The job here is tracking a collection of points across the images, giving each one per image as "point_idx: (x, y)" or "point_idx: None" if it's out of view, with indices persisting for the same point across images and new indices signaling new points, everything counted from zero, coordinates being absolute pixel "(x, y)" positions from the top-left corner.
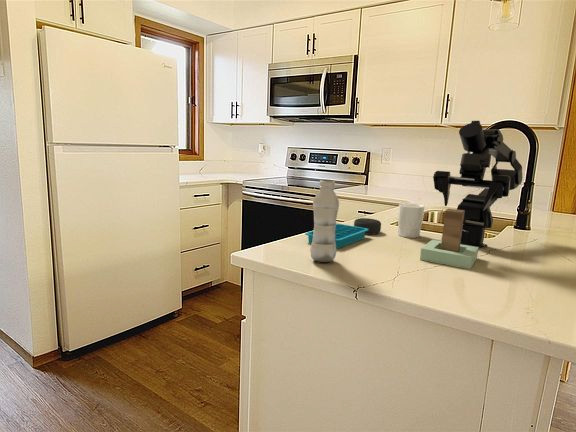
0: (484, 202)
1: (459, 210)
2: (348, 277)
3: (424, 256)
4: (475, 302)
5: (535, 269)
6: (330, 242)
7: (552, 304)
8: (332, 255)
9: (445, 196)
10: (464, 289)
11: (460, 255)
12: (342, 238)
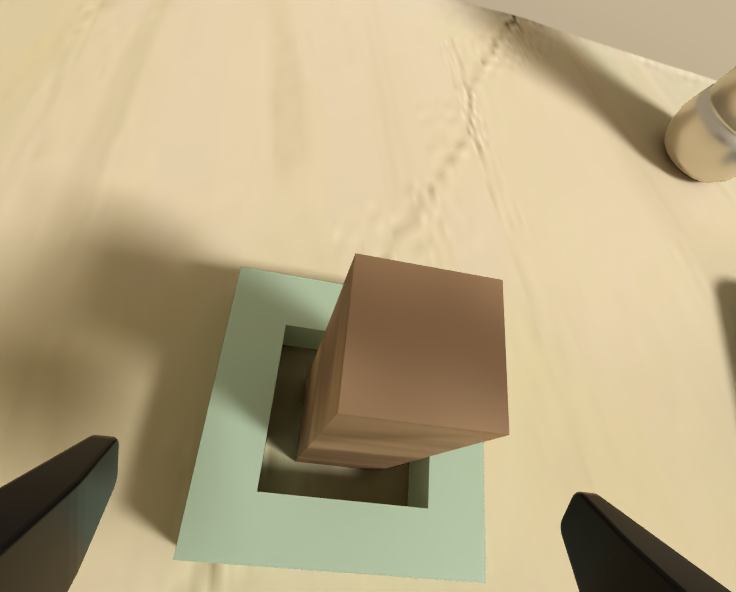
0: (55, 489)
1: (389, 369)
2: (564, 67)
3: None
4: (245, 7)
5: None
6: (718, 83)
7: (2, 44)
8: (675, 120)
9: (688, 576)
10: (272, 78)
11: (294, 276)
12: None
